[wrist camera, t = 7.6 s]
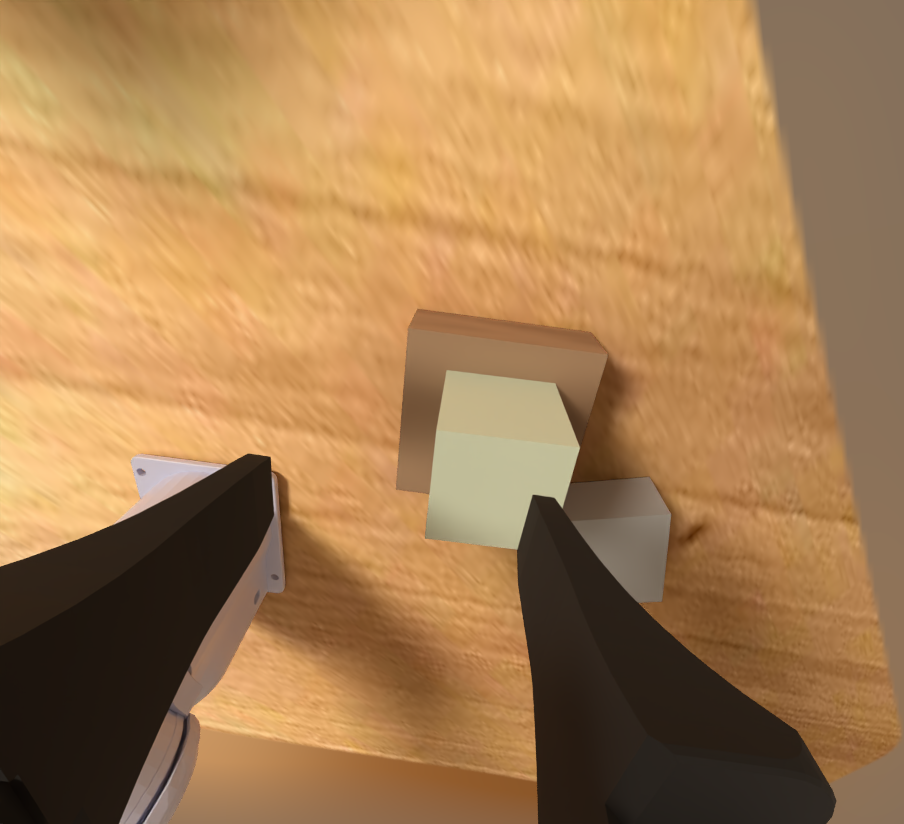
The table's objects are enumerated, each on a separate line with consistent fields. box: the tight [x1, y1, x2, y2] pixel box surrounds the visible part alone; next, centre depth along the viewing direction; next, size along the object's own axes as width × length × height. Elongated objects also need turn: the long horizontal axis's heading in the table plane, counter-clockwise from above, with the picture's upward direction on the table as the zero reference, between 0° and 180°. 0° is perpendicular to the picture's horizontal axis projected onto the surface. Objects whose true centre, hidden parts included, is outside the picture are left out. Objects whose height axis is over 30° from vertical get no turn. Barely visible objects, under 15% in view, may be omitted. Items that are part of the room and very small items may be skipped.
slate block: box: [562, 477, 671, 603], centre depth 24 cm, size 6×6×3 cm
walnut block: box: [396, 309, 608, 494], centre depth 21 cm, size 8×8×3 cm
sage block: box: [425, 370, 580, 550], centre depth 17 cm, size 4×4×5 cm
